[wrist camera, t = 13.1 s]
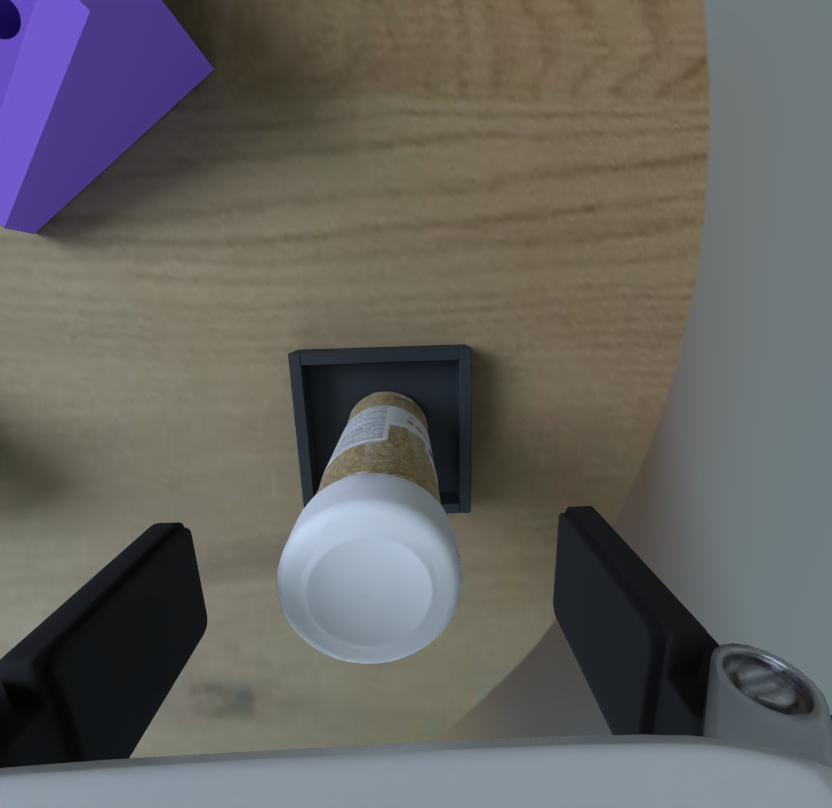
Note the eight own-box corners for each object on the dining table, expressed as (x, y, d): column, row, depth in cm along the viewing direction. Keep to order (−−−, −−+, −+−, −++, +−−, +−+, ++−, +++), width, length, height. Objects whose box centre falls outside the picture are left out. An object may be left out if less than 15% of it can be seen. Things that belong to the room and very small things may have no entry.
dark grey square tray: (465, 344, 22) (471, 347, 20) (465, 497, 24) (470, 512, 22) (297, 349, 22) (287, 353, 20) (312, 504, 24) (305, 520, 22)
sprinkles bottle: (439, 447, 23) (493, 632, 10) (367, 477, 23) (325, 698, 10) (407, 375, 22) (420, 474, 9) (332, 407, 22) (234, 552, 9)
